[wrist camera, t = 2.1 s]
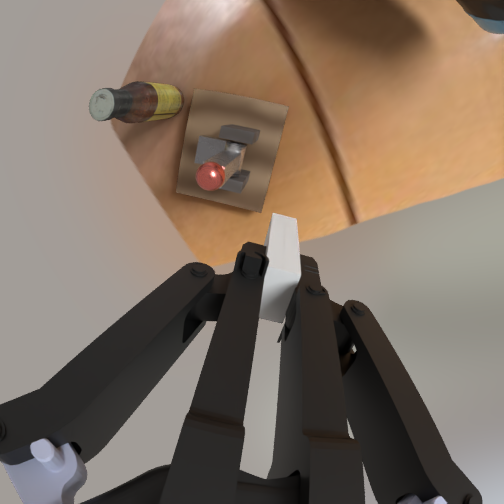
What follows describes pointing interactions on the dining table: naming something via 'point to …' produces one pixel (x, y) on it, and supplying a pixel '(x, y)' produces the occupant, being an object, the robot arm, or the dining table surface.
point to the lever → (218, 161)
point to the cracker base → (240, 130)
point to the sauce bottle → (136, 102)
